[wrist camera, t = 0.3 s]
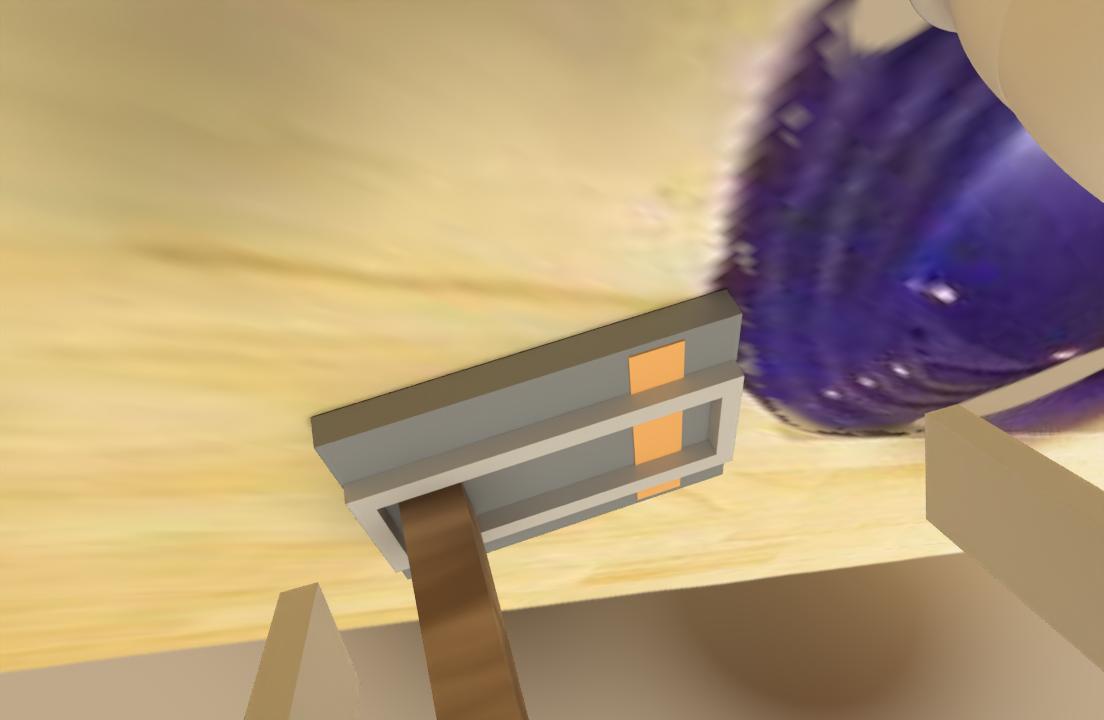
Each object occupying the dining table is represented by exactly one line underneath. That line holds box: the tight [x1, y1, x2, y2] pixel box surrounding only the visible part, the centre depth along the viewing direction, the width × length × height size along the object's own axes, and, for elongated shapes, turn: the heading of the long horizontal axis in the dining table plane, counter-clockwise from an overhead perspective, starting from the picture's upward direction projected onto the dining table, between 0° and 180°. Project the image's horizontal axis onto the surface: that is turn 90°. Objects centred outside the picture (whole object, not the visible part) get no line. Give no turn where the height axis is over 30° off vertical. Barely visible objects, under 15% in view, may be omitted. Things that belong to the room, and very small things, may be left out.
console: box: [311, 289, 744, 579], centre depth 36 cm, size 14×19×3 cm
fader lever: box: [398, 482, 529, 720], centre depth 30 cm, size 5×4×15 cm
